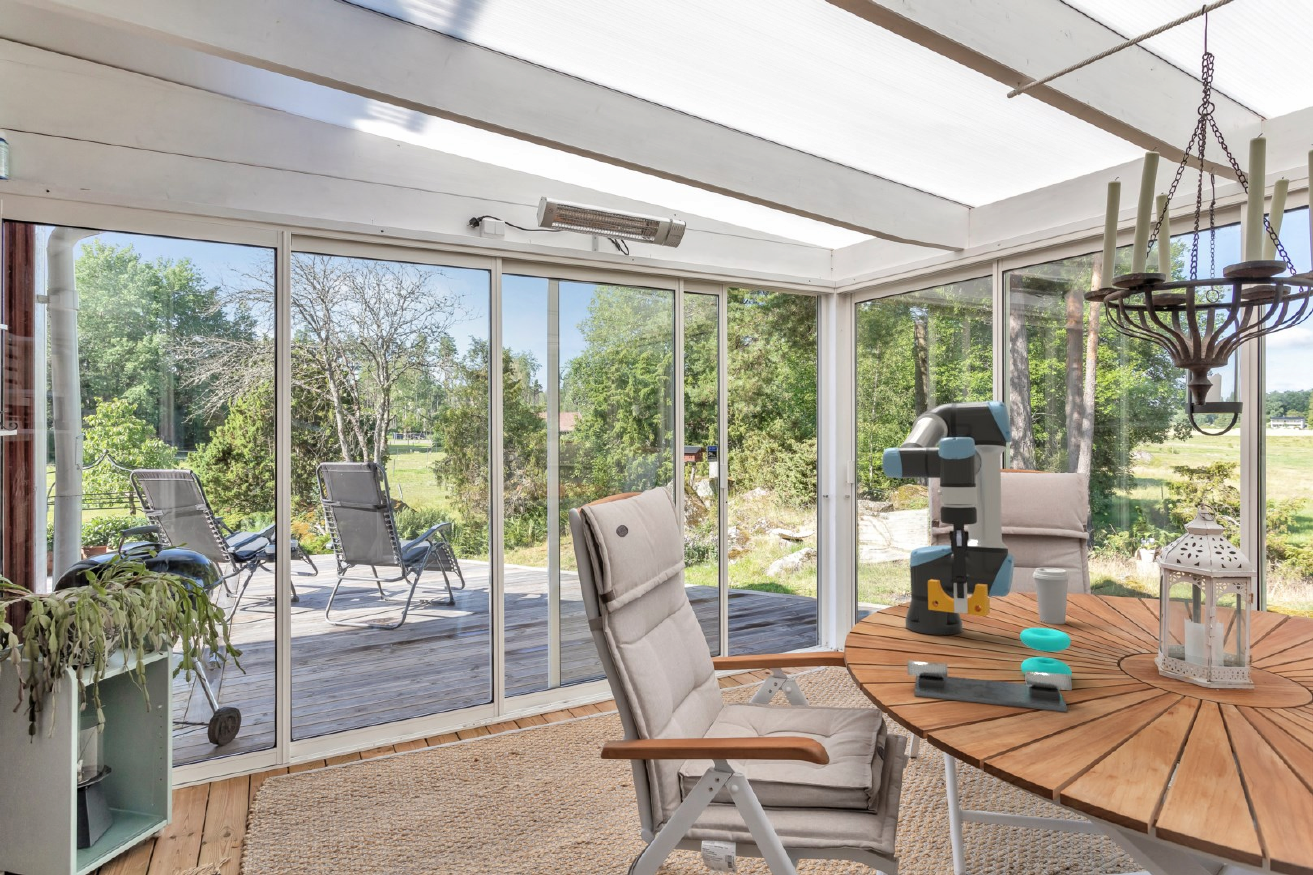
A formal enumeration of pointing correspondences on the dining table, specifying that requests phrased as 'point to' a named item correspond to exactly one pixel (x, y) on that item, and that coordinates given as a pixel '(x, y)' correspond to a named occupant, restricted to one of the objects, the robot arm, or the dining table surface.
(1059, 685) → the shaft stand
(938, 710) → the dining table surface
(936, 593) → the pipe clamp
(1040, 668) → the donuts
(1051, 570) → the coffee cup
